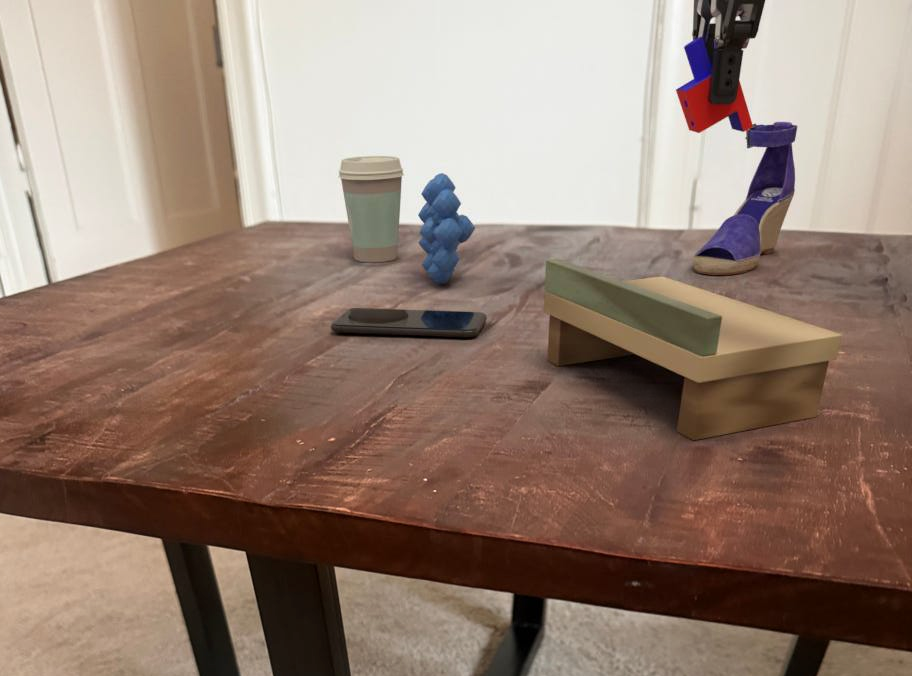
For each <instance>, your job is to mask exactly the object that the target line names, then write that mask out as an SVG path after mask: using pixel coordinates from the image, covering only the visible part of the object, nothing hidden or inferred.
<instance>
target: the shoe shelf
mask: <svg viewBox="0 0 912 676" xmlns="http://www.w3.org/2000/svg"><path fill="white" fill-rule="evenodd" d="M544 273H545V275H544V294H543V295H544V297H543V298H544V299H543V313H545V314H547V315H549V317H548V318H549V320H548V321H549V322H548V341H547V361H548V362H550V363H552V364H553V365H554V366H557V367H561V366H568V365H574V364H581V363H589V362H595V361H602V360H606V359H607V360H608V359H615V358H620V357H627V356H634V355H637V356H639V357H641V358H643V359H645V360H647V361H649V362H651V363H654V364H656V365H658V366H660V367H662V368H664V369H667V370H669V371H671V372H673V373H675V374H677V375H680V376H682V377H683V378H684V379H683V385H682V392H681V400H680V405H679V412H678V413H679V415H678V421H677V429H676V432H677V433H678V434H681V435H683V436H685V437H686V438H688V439H690V440H692V441H699V440H704V439H708V438H715V437H718V436H724V435H731V434H734V433H739V432H744V431H745V432H746V431H750V430H755V429H760V428H765V427H771V426H775V425H781V424H785V423H792V422H796V421H800V420H807V419H812V418H816V417H818V416H817V415H818V411H819V406H820V402H821V399H822V394H823V390H824V385H825V381H826V376H827V372H828V369H829V368H828V367H829V364H830V362H831V361H836V360H837V359H838V355H839V351H840V348H841V343H842V339H843V334H842V333H838V332H836V331H833V330H829V329H826V328H824V327H820V326H817V325H814V324H810V323H807V322H804V321H801V320H799V319H795V318H792V317H789V316H786V315H783V314H779V313H777V312H773V311H771V310H767V309H763V308H761V307H758V306H755V305H752V304H749V303H747V302H746V303H745V302H743V301H740V300H737V299H733V298H730V297H727V296H724V295H721V294H718V293H715V292H711V291H708V290H706V289H703V288H700V287H696V286H693V285H690V284H687V283H683V282H681V281H678V280H674V279H672V278H669V277H666V276H662V275H661V276H653V277H646V278H638V279H628V280H621V279H617V278H615V277H613V276H609V275H607V274H603V273H601V272H598V271H595V270H592V269H590V268H586V267H584V266H581V265H579V264H575V263H572V262H569V261H567V260H563V259H562V258H549V259H548V258H547V259H545V272H544Z"/></svg>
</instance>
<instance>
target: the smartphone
mask: <svg viewBox="0 0 912 676" xmlns="http://www.w3.org/2000/svg"><path fill="white" fill-rule="evenodd" d="M487 319H488V318H487V314H486V313H485V312H482V311H481V312H480V311H462V310H461V311H459V310H430V309H429V310H428V309H401V308H400V309H399V308H375V307H374V308H370V307H350V308H348V309H346V310H345V311H344V312H342V314H341V315H339V316H338V317H337V318H336V319H334V321H333V322H332V323H331V324H330V329H331V331H332V332H335V333H345V334H346V333H347V334H367V335H369V334H371V335H395V336H396V335H398V336H418V337H419V336H421V337H422V336H423V337H444V338H445V337H446V338H449V337H450V338H473V337H476V336H477V335H478V334H479V333H480V332H481V330H482V328H483V326H484V324H485V323H486V321H487Z"/></svg>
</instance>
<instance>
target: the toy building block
mask: <svg viewBox="0 0 912 676" xmlns="http://www.w3.org/2000/svg"><path fill="white" fill-rule="evenodd" d="M683 49H684V52H685V55H686V59H687V62H688V64H689V67H690V72H691V73H692V76H693V79H691V80H690V81H688V82H686V83H685V84H683V85H681V86H679V87H678V88H676V89H675V92H676V95H677V98H678V101H679V104H680V106H681V111H682V113H683V117H684V120H685V122H686V125H687V129H688V130H689V131H690V132H694V133H696V134H700V133H702V132H703V131H706V130H707V129H709V128H711V127H713V126H714V125H716V124H718V123H720V122H721V121H723V120H726V118H728V120H729V124H730V127H731V129H732V130H734V131H738V132H743V133H744V132H745V133H746V130H749V129H750V128H752V127H753V124H754V123H753V121H752V118H751V115H750V111H749V107H748V105H747V101H746V97H745V94H744V91H743V87H742V84H741V80H739V85H738V92H737V98H736V100H735V101H734V102H733V103H732V104H711V103H710V102H709V101H708V94H709V86H710V78H711V70H712V67H711V64H710V61H709V57H708V54H707V51H706V48H705V45H704V41H703V38H702V37H699V38H697V39H695V40H693V39H692V41H690V42H688V43H686V44H685V45H684V46H683Z"/></svg>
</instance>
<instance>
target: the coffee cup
mask: <svg viewBox="0 0 912 676" xmlns="http://www.w3.org/2000/svg"><path fill="white" fill-rule="evenodd" d="M340 162H341V163H340V169H339V170H338V178H339V179H340V181H341V186H342V191H343V198H344V199H343V200H344V204H345V209H346V210H345V211H346V215H347V216H346V217H347V222H348V229H349V233H350V234H349V235H350V239H351V245H352V251H353V257H354V260H355V261H356V262H360V263H376V264H377V263H385V262H392V261H395V260H396V259H397V258H398V248H399V232H400V218H401V217H400V215H401V199H402V197H401V196H402V181H403V179H402V178H403V176H404V175H405V174H404V172H403V171H404V168H403V167H402V165H401V160H400V158H399V157H397V156H392V155H391V156H389V155H365V156H354V157H347V158H343V159H341V161H340Z"/></svg>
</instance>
